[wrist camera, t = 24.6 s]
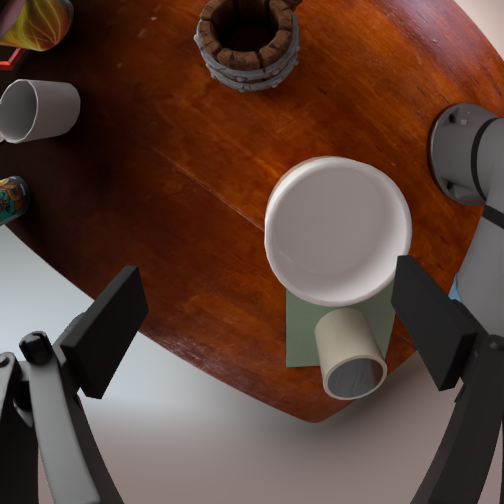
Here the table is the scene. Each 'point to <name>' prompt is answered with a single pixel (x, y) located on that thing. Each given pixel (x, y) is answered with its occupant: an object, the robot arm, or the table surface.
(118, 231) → the table surface
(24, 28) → the mug
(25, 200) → the beverage can
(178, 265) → the table surface
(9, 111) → the cup
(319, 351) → the tumbler
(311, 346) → the mat
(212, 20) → the mug
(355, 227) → the bowl
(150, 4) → the table surface
